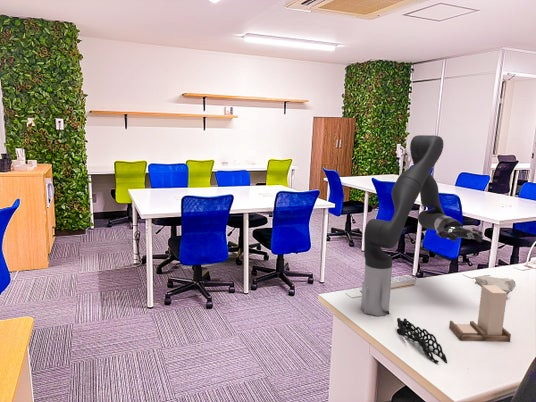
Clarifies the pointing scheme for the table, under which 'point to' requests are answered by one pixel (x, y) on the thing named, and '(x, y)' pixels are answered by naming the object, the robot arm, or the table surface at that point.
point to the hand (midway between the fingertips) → (468, 238)
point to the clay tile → (466, 329)
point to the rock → (496, 282)
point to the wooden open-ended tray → (479, 334)
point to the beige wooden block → (492, 310)
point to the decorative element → (417, 338)
